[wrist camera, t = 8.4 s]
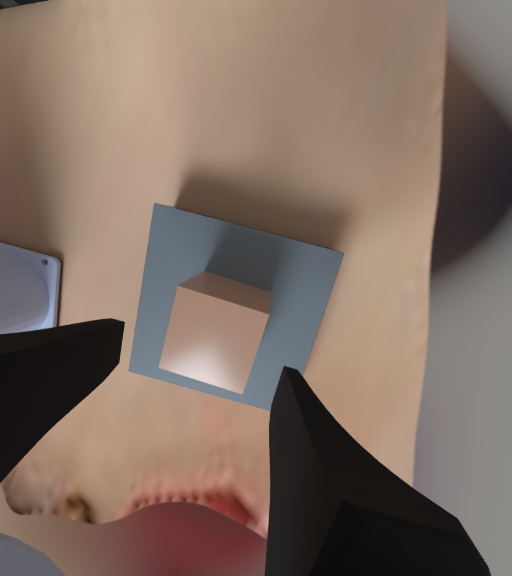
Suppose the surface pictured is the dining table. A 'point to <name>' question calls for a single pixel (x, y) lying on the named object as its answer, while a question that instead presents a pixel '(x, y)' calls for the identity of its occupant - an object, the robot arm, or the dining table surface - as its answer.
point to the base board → (243, 268)
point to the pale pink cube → (215, 330)
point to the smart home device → (16, 3)
